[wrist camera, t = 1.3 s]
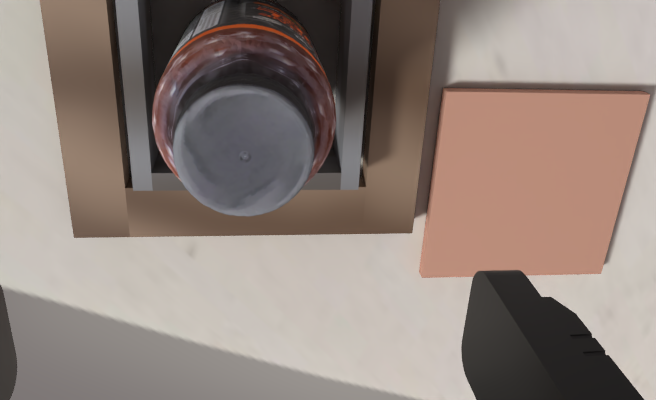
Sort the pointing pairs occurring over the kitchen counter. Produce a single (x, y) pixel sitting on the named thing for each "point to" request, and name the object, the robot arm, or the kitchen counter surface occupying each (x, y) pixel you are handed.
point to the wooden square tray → (169, 192)
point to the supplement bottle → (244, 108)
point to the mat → (528, 179)
